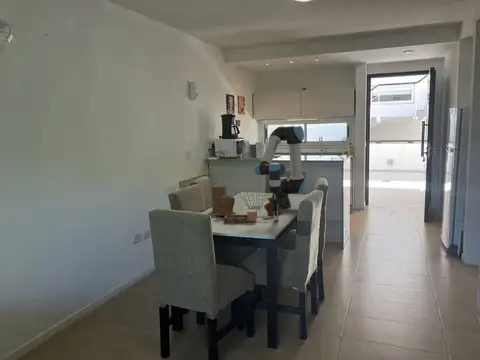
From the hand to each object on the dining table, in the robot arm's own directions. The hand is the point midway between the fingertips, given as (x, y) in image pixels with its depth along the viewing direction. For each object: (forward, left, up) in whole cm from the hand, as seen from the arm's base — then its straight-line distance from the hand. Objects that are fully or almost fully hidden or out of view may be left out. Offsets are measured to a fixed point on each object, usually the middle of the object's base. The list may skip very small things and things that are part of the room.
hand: (276, 219), depth 275 cm
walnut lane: (+28, 0, -1) cm, 28 cm away
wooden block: (+47, -35, -1) cm, 58 cm away
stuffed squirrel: (+4, -18, -2) cm, 18 cm away
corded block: (+9, 0, -1) cm, 9 cm away
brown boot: (+39, -18, -2) cm, 43 cm away
